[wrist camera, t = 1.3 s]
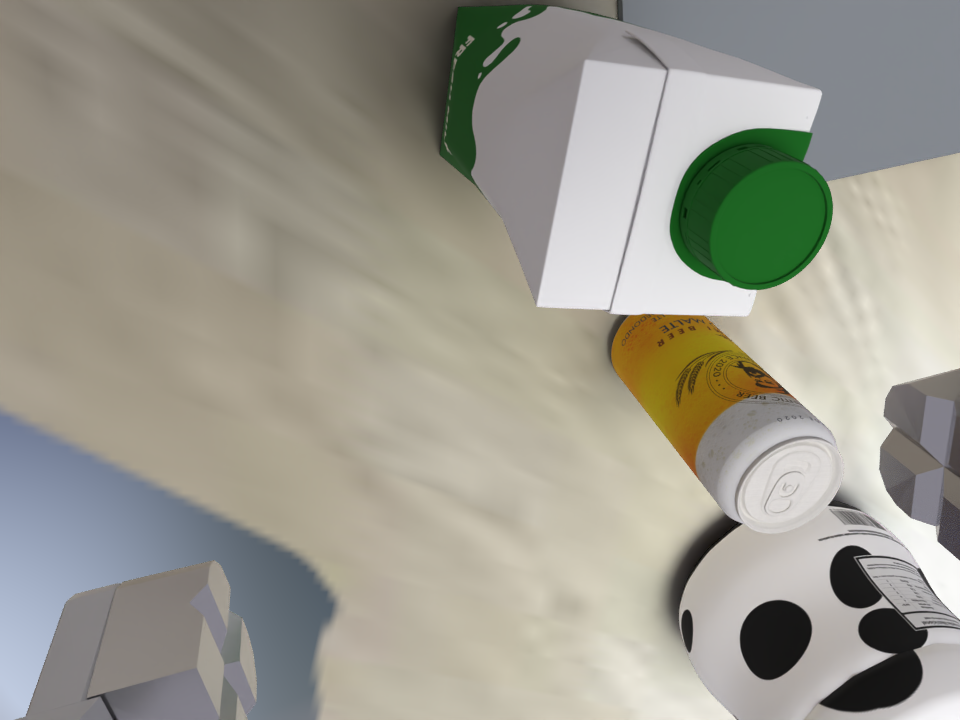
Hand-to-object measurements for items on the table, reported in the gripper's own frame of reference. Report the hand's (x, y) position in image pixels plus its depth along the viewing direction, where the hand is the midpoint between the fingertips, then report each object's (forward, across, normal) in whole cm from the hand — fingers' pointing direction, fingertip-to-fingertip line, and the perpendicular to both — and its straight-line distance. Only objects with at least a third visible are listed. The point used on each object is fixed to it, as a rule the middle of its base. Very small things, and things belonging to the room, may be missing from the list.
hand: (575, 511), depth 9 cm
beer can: (+34, -15, +17) cm, 41 cm away
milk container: (+36, -24, +40) cm, 58 cm away
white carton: (+33, -8, +1) cm, 34 cm away
